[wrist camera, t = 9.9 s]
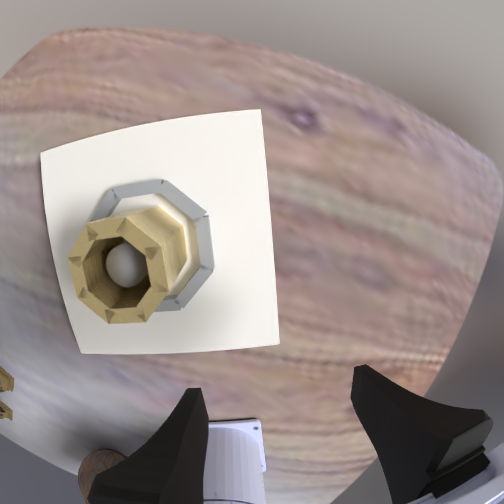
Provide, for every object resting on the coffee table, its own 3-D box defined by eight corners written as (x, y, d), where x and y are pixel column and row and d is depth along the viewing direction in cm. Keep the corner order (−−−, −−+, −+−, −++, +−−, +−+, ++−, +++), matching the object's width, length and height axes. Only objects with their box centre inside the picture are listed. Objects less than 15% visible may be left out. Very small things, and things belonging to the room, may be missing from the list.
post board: (276, 334, 22) (290, 381, 16) (88, 344, 21) (57, 384, 15) (258, 114, 18) (269, 87, 12) (51, 153, 17) (2, 149, 12)
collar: (191, 279, 19) (175, 320, 13) (122, 286, 19) (85, 324, 13) (181, 203, 18) (156, 212, 12) (109, 213, 17) (61, 227, 12)
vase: (94, 433, 24) (70, 490, 15) (149, 460, 25) (136, 519, 17) (84, 455, 25) (64, 504, 16) (132, 479, 26) (119, 530, 18)
